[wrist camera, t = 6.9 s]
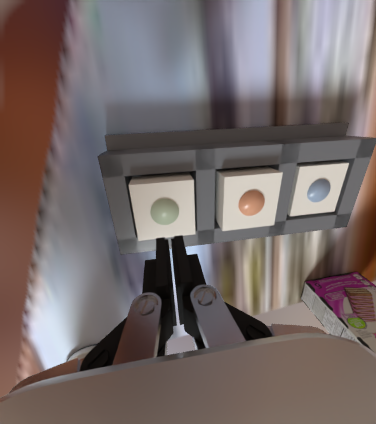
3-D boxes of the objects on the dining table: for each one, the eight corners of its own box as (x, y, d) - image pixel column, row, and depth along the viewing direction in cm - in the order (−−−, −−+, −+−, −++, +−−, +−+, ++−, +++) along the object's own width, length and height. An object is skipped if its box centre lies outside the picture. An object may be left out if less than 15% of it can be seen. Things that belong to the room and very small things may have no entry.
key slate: (316, 202, 27) (335, 211, 24) (276, 206, 26) (290, 216, 24) (328, 158, 24) (350, 163, 22) (283, 161, 24) (300, 167, 21)
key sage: (190, 221, 24) (195, 235, 21) (140, 226, 23) (138, 241, 20) (189, 172, 21) (194, 180, 18) (132, 176, 20) (128, 185, 17)
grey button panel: (315, 219, 31) (343, 236, 26) (128, 241, 27) (123, 264, 23) (341, 122, 25) (383, 122, 20) (106, 135, 21) (93, 138, 17)
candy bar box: (357, 269, 37) (488, 365, 23) (350, 288, 40) (465, 387, 25) (303, 279, 36) (403, 387, 22) (299, 298, 38) (387, 408, 24)
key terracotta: (261, 213, 25) (274, 225, 22) (214, 218, 24) (222, 231, 21) (267, 166, 22) (283, 172, 19) (215, 170, 21) (225, 177, 18)
